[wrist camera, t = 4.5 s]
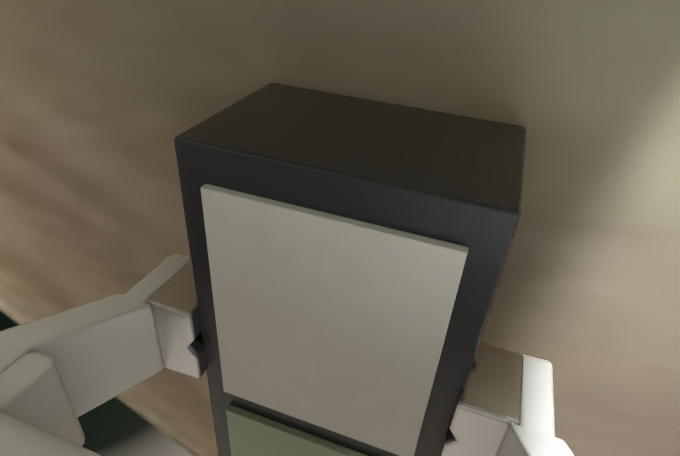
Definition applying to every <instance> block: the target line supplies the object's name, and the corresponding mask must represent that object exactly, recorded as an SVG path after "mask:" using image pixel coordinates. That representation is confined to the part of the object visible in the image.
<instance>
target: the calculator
mask: <svg viewBox="0 0 680 456" xmlns="http://www.w3.org/2000/svg"><path fill="white" fill-rule="evenodd" d="M525 133H526V130H525V128H524V127H519V126H513V125H507V124H502V123H496V122H490V121H484V120H479V119H473V118H467V117H461V116H456V115H450V114H444V113H439V112H433V111H427V110H421V109H416V108H410V107H404V106H399V105H393V104H387V103H381V102H376V101H370V100H364V99H359V98H353V97H347V96H341V95H336V94H330V93H324V92H319V91H313V90H307V89H301V88H296V87H290V86H284V85H279V84H273V83H271V84H268V85H267V86H265V87H263V88H261V89H260V90H258V91H256V92H254V93H253V94H251V95H249V96H247V97H245V98H244V99H242V100H240V101H238V102H237V103H235V104H233V105H231V106H229V107H228V108H226V109H224V110H222V111H221V112H219V113H217V114H215V115H214V116H212V117H210V118H208V119H206V120H205V121H203V122H201V123H199V124H198V125H196V126H194V127H192V128H191V129H189V130H187V131H185V132H183V133H182V134H180V135H178V136H176V137H175V139H174V141H175V148H176V155H177V163H178V170H179V177H180V184H181V191H182V198H183V205H184V212H185V220H186V227H187V234H188V241H189V248H190V255H191V262H192V269H193V277H194V284H195V291H196V298H197V304H198V305H199V310H200V317H201V324H202V331H201V334H202V341H203V344H204V346H205V353H206V361H207V376H208V383H209V391H210V398H211V405H212V412H213V419H214V426H215V433H216V440H217V448H218V455H219V456H440V453H441V449H442V445H443V442H444V439H445V435H446V432H447V429H449V428H450V424H451V418H452V413H453V410H454V407H455V404H456V401H457V398H458V395H459V392H460V389H464V388H465V385H466V382H467V379H468V376H469V373H470V370H471V367H472V364H473V361H474V358H475V355H476V351H477V348H478V345H479V342H480V339H481V336H482V333H483V330H484V327H485V324H486V320H487V317H488V314H489V311H490V308H491V305H492V302H493V299H494V296H495V293H496V290H497V286H498V283H499V280H500V277H501V274H502V271H503V268H504V265H505V262H506V259H507V256H508V252H509V249H510V246H511V243H512V240H513V237H514V234H515V231H516V228H517V225H518V221H519V218H520V215H521V200H522V183H523V167H524V150H525Z"/></svg>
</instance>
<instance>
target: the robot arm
mask: <svg viewBox="0 0 680 456" xmlns="http://www.w3.org/2000/svg"><path fill="white" fill-rule="evenodd" d="M201 331H202V324H201V317H200V310H199V305H198V304H197V298H196V291H195V284H194V277H193V269H192V262H191V257H188V256H185V255H182V254H179V253H175V254H171V255H169V256H168V257H167V258H166V259H164V260H163V261H162V262H161V263H160V264H159V265H158V266H156V267H155V268H154V269H153V270H152V271H151V272H149V273H148V274H147V275H146V276H145V277H144V278H143V279H141V280H140V281H139V282H138V283H137V284H136V285H134V286H133V287H132V288H131V289H130V290H129V291H128V292H126V293H125V294H124V295H120V294H114V295H111V296H108V297H105V298H102V299H99V300H96V301H93V302H89V303H86V304H83V305H80V306H77V307H74V308H71V309H68V310H65V311H62V312H58V313H55V314H52V315H49V316H46V317H43V318H40V319H37V320H34V321H31V322H27V323H24V324H21V325H18V326H15V327H12V328H9V329H6V330H3V331H0V456H102V455H99V454H97V453H95V452H92V451H90V450H88V449H86V448H83V447H81V446H82V445H83V444H84V443H85V442H84V441H85V436H84V433H83V431H82V428H81V426H80V423H79V421H78V418H77V417H79V416H81V415H82V414H85V413H86V412H88V411H90V410H92V409H94V408H96V407H97V406H99V405H101V404H103V403H104V402H106V401H108V400H110V399H112V398H114V397H115V396H117V395H119V394H121V393H123V392H124V391H126V390H128V389H130V388H132V387H134V386H135V385H137V384H139V383H141V382H143V381H144V380H146V379H148V378H150V377H152V376H153V375H155V374H157V373H159V372H161V371H162V370H164V367H165V368H168V369H171V370H174V371H177V372H180V373H183V374H186V375H189V376H192V377H195V378H198V379H199V378H200V377H201V376H202V375H203V373H204V372H205V371H206V369H207V361H206V353H205V346H204V344H203V341H202V334H201ZM440 456H574V454H573V453H572V451H571V450H570V448H569V447H568V445H567V444H566V442H565V441H564V440H562V439H559V438H556V437H555V422H554V397H553V371H552V365H551V363H550V361H547V360H543V359H540V358H536V357H532V356H529V355H525V354H520V353H517V352H514V351H510V350H507V349H503V348H500V347H496V346H493V345H489V344H485V343H482V342H479V345H478V348H477V351H476V355H475V358H474V361H473V364H472V367H471V370H470V373H469V376H468V379H467V382H466V385H465V388H464V389H460V392H459V395H458V398H457V401H456V404H455V407H454V410H453V413H452V418H451V424H450V428H449V429H447V432H446V435H445V439H444V442H443V445H442V449H441V453H440Z"/></svg>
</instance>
